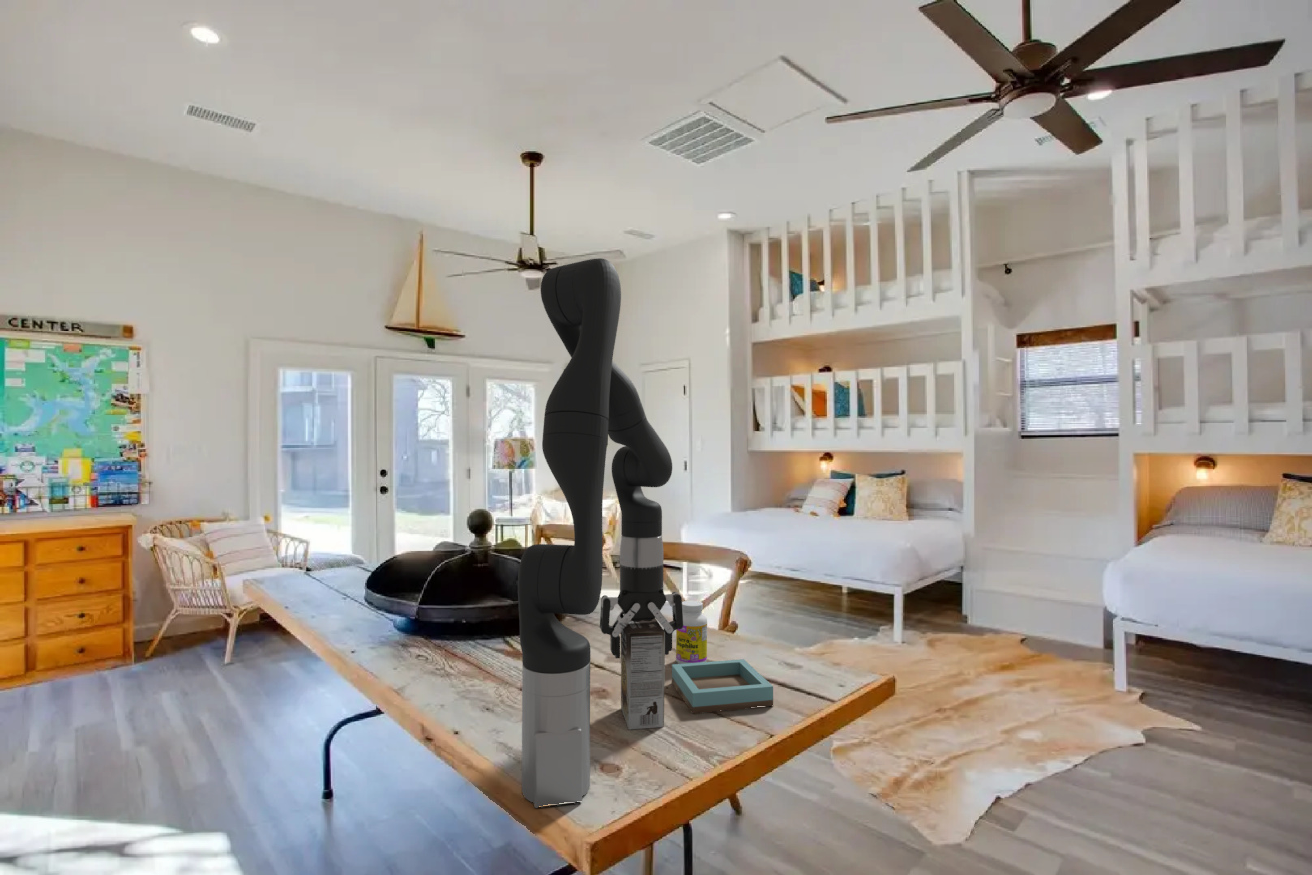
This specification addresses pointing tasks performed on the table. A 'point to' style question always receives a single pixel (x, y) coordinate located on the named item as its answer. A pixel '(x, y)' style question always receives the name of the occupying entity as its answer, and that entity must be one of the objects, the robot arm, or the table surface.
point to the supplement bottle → (692, 634)
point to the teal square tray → (721, 686)
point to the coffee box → (643, 674)
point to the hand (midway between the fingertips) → (641, 655)
